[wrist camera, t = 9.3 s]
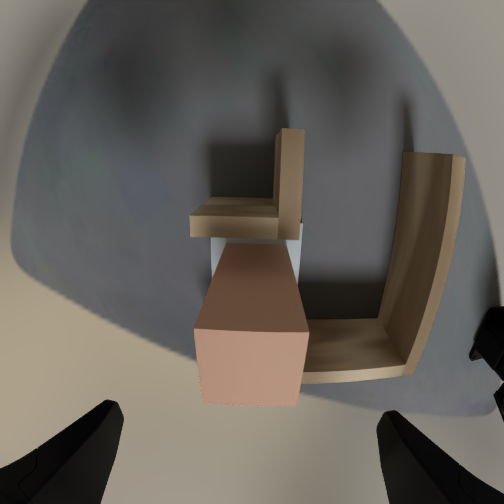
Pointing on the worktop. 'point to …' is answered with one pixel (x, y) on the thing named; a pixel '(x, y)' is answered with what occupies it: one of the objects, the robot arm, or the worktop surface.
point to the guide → (400, 268)
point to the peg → (252, 329)
